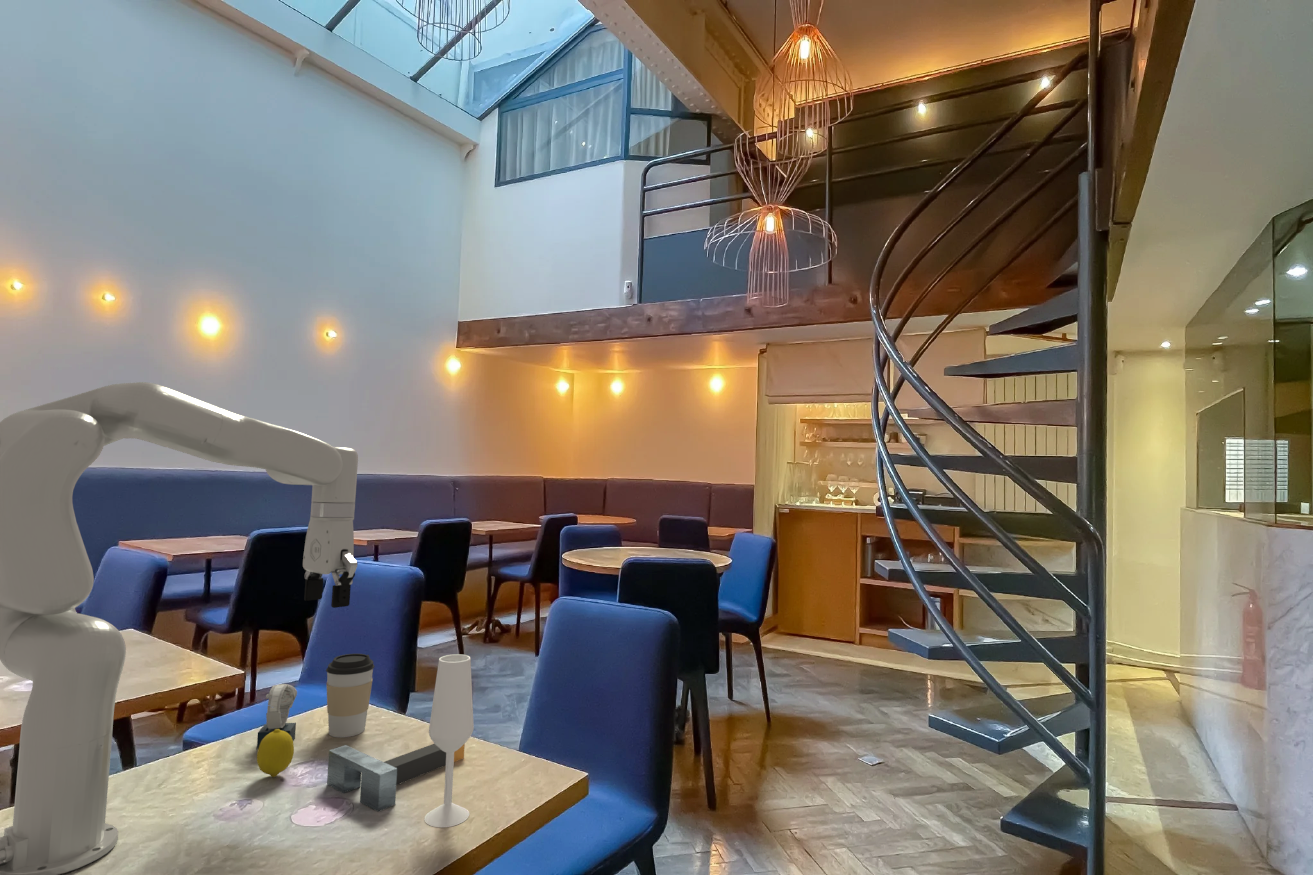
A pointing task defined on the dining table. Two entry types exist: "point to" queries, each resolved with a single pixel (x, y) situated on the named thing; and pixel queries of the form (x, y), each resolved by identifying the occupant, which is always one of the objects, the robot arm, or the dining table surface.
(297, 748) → the dining table surface
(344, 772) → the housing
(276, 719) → the watch
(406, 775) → the plug
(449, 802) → the champagne flute
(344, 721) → the coffee cup
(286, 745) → the lemon
